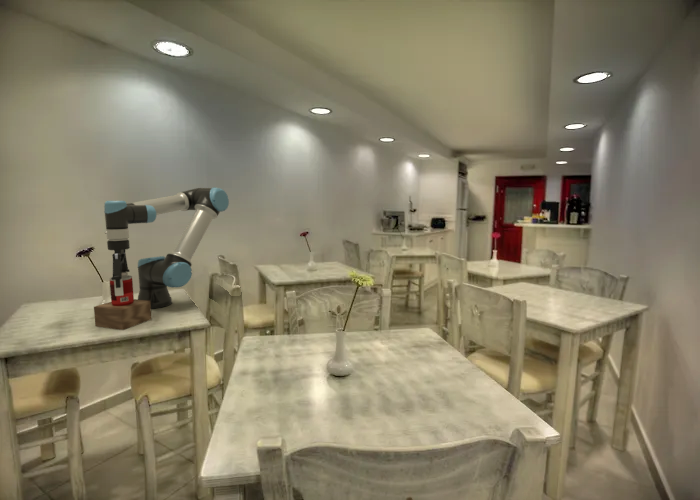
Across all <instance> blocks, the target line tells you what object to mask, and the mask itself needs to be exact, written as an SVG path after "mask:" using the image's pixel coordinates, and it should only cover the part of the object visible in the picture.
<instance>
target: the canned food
mask: <svg viewBox="0 0 700 500" xmlns="http://www.w3.org/2000/svg"><path fill="white" fill-rule="evenodd" d="M112 277H113V276H111V277H110V278H109V289H110V302H111V303H112V305H113V306H125V305H129V304H132V303H133V301H134V299H135V298H134V284H133V276H132V275H123V276H122V278H121V279H122V282H123V294H124V295H122V296H115V287H114V280H112V279H111V278H112Z"/></svg>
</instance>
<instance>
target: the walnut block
mask: <svg viewBox="0 0 700 500" xmlns="http://www.w3.org/2000/svg"><path fill="white" fill-rule="evenodd" d="M93 313H94V322H95V327H100V328H106V329H113V330H119V331H124V330H126V329H129V328H132V327H135V326H138V325H140V324H142V323H145V322H148V321H150V320H152V309H151V304H150V301H147V300H138V298H137V299H136V298H134V301H133V303H132V304H129V305H125V306H113V305H112V303H111V301H110V302H105V303H103V304H99V305H96V306H93Z"/></svg>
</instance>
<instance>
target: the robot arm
mask: <svg viewBox="0 0 700 500" xmlns="http://www.w3.org/2000/svg"><path fill="white" fill-rule="evenodd" d="M229 202H230V200H229V197H228V194H227V192H226V191H225V190H224V189H222V188H220V187H215V186H214V187H195V188H192V189H188V190H185V191H179V192H177V193H176V194H175V195H169V196H163V197H158V198H151V199H146V200H145V199H144V200H140V201H134V202H128V203H127V202H126V201H125V200H106V201H105V202H104V206H103V207H104V211H103V212H104V219H105V232H104V234H106V239H107V241H106V243H107V244H106V245H107V249H108V250H109V251H113V252H114V253H113V254H111V255H112V276H111V277H112V278H111V277H110V278H111V279H112V280H114V287H115V296H122V295H124V294H123V282H122V279H121V278H122V276H123V275H128V273H129V272H130V269H129V267H128V260H127V254H126V250H130V248H131V247H130V239H129V238H130V232H129V231H130V230H129V225H133V224H135V225H136V224H149V223H154V222H155V221H156V219H157V216H159V215H163V214H168V213H172V212H176V211H181V212H186V211H195V212H194V214H193V215H192V217H191V219H190V221H189V222H188V224H187V226H186V228H185V229H184V231H183V232H182V234H181V236H180V238H179V240H178V241H177V244H176V245H175V247H174V249H173V250H172V252H168V253H166V256H164V255H163V256H160V255H159V256H152V257H143V258H140V259H139V260H138V262H137V272H138V286H139V292H138V295H137V300H147V301H150V304H151V310H153V309H159V308H160V309H161V308H165V307H168V306H170V305H172V304H173V301H172V300H173V299H172V296H171V295H170V291H169V289H168V288H182V287H184V286H185V285H187V284H188V283H189V282H190V280H191V279H192V276H193V273H192V272H193V270H192V265H193V263H192V258H193V257H194V254H195V253H196V251H197V249H198V246H199V245H200V243H201V242H202V240H203V238H204V235H205V233H207V229H208V228H209V227H210V224H211V222H212V220H215V219H217V218H218V217H219V214H220V212H225V211H226V210H227V209H228V207H229V204H230V203H229Z"/></svg>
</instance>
